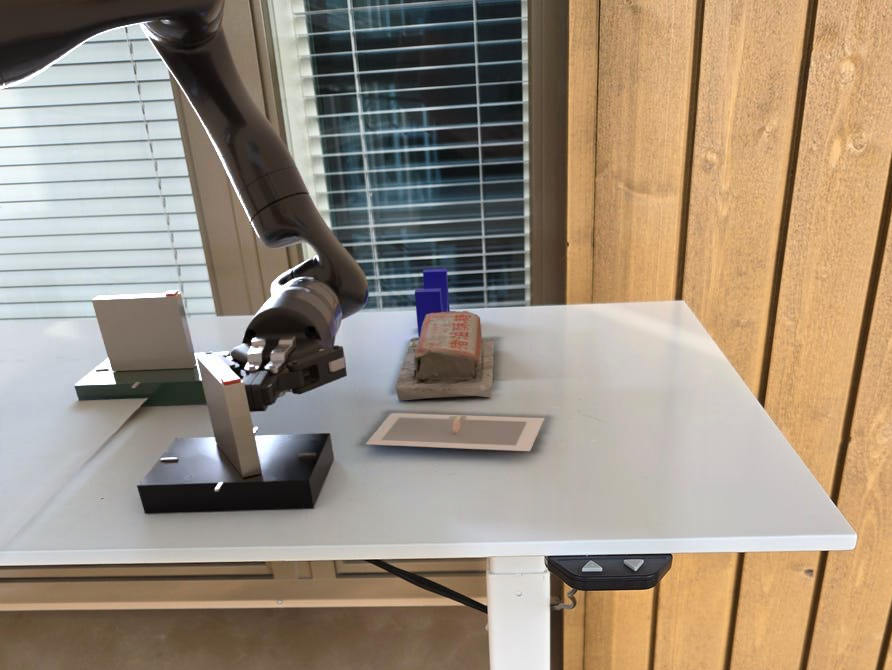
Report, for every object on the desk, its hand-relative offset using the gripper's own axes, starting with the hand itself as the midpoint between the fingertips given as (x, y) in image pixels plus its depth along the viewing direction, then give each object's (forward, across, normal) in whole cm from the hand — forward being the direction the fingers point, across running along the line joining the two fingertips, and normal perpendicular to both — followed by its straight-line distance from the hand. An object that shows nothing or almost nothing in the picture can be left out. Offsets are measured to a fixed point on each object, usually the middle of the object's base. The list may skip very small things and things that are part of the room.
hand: (253, 399), depth 70 cm
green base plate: (-28, -18, +8) cm, 34 cm away
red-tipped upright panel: (-2, -3, +5) cm, 6 cm away
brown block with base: (-29, +14, +8) cm, 33 cm away
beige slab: (-28, -18, +6) cm, 34 cm away
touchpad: (-9, +15, +8) cm, 20 cm away
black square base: (-2, -3, +8) cm, 9 cm away
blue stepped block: (-47, +12, +8) cm, 50 cm away
